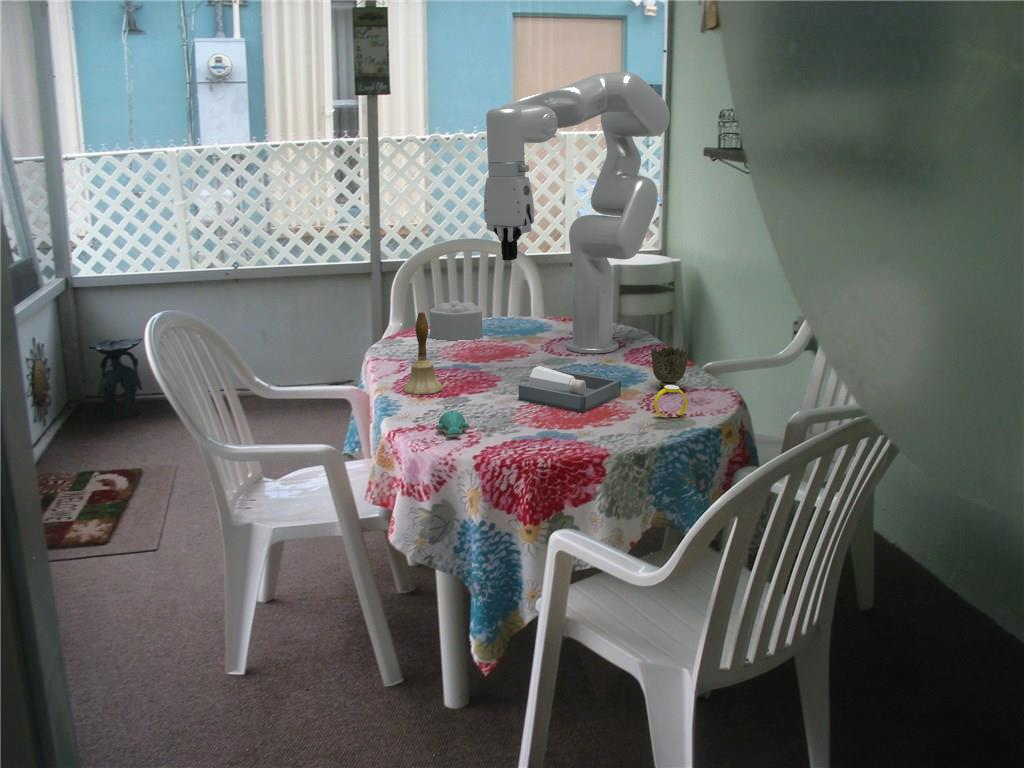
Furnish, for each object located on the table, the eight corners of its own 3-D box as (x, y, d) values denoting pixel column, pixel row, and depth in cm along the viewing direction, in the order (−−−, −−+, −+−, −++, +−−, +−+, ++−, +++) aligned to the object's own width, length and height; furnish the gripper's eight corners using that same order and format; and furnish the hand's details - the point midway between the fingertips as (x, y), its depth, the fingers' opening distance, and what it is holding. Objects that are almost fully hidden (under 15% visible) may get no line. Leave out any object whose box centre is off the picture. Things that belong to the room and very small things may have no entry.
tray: (557, 383, 195) (557, 369, 194) (620, 395, 187) (620, 380, 186) (518, 399, 184) (518, 385, 183) (583, 412, 176) (583, 397, 175)
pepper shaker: (531, 397, 189) (579, 406, 184) (526, 375, 186) (574, 384, 180) (544, 381, 193) (591, 390, 187) (539, 360, 190) (587, 368, 184)
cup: (664, 395, 186) (665, 356, 184) (642, 386, 193) (644, 348, 191) (694, 390, 190) (696, 351, 188) (672, 381, 196) (673, 344, 194)
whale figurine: (468, 427, 169) (467, 407, 168) (470, 440, 162) (470, 419, 161) (435, 428, 168) (435, 408, 167) (436, 441, 161) (436, 420, 160)
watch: (682, 415, 175) (686, 385, 173) (687, 420, 172) (690, 389, 170) (651, 414, 174) (654, 384, 172) (655, 419, 171) (658, 388, 170)
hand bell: (406, 383, 196) (403, 309, 192) (445, 383, 196) (443, 308, 192) (400, 395, 188) (397, 317, 184) (441, 395, 188) (439, 317, 184)
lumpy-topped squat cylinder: (484, 340, 234) (483, 306, 232) (432, 342, 232) (431, 308, 230) (478, 331, 244) (477, 298, 242) (428, 333, 242) (427, 300, 240)
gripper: (547, 169, 190) (549, 259, 196) (487, 168, 198) (491, 254, 204) (526, 173, 184) (529, 265, 190) (466, 171, 193) (470, 260, 198)
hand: (509, 259), depth 197 cm, fingers closed
